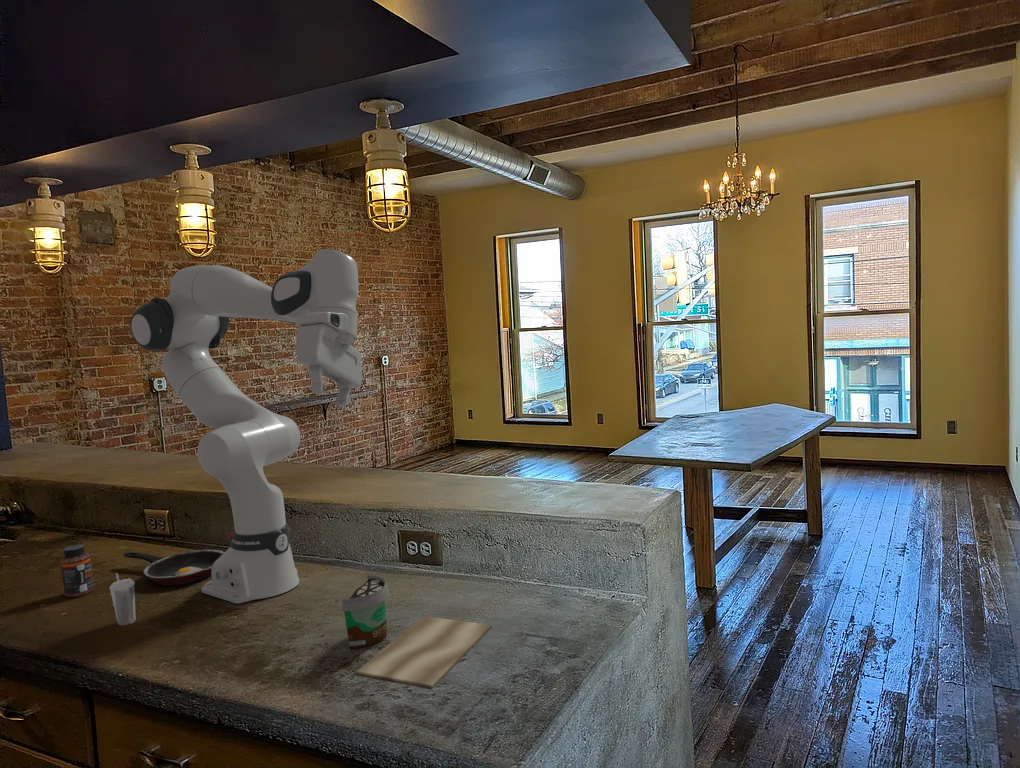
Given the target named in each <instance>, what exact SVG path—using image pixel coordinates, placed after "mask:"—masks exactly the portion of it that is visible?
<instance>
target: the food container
mask: <svg viewBox="0 0 1020 768" xmlns="http://www.w3.org/2000/svg"><path fill="white" fill-rule="evenodd" d="M388 585H389V584H388V583H387V582H386V579H384V578H383V577H380V576H378V575H371V574H369V575H368V574H367V580H366V582H365V583H364V584H363V585H361V586H360V587H358V588H356V589H355V591H354V592H353V594H351V596H350V597H349V598H342V603H341V604H342V605H341V610H342V612H344V620H345V626H346V632H347V633H346V634H347V641H348V644H349V645H348V646H349V650H350V651H351V650H353V651H355V650H361V649H362V650H363V649H368V648H371V647H374V646H376V645H378V644H379V643H382V642H383V641H384V640H385V639H386V637H387V635H388V634H387V633H388V629H387V627H388V626H387V625H388V624H387V599H388V598H389V596H390V588H389V586H388Z"/></svg>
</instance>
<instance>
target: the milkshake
mask: <svg viewBox="0 0 1020 768" xmlns="http://www.w3.org/2000/svg"><path fill="white" fill-rule="evenodd" d="M115 578H116V581H114V582H113V583H112V584H111V585H110V586H109V591H110V596H111V599H112V604H113V608H114V612H115V617H116V621H117V625H118V626H122V627H123V626H128V625H131V624H133V623H135V622H136V620H137V619H136V617H137V616H136V597H135V581H134V580H133V579H132V578H131V577H130V578H124V579H120V576H119V573H118V572H116V573H115Z"/></svg>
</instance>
